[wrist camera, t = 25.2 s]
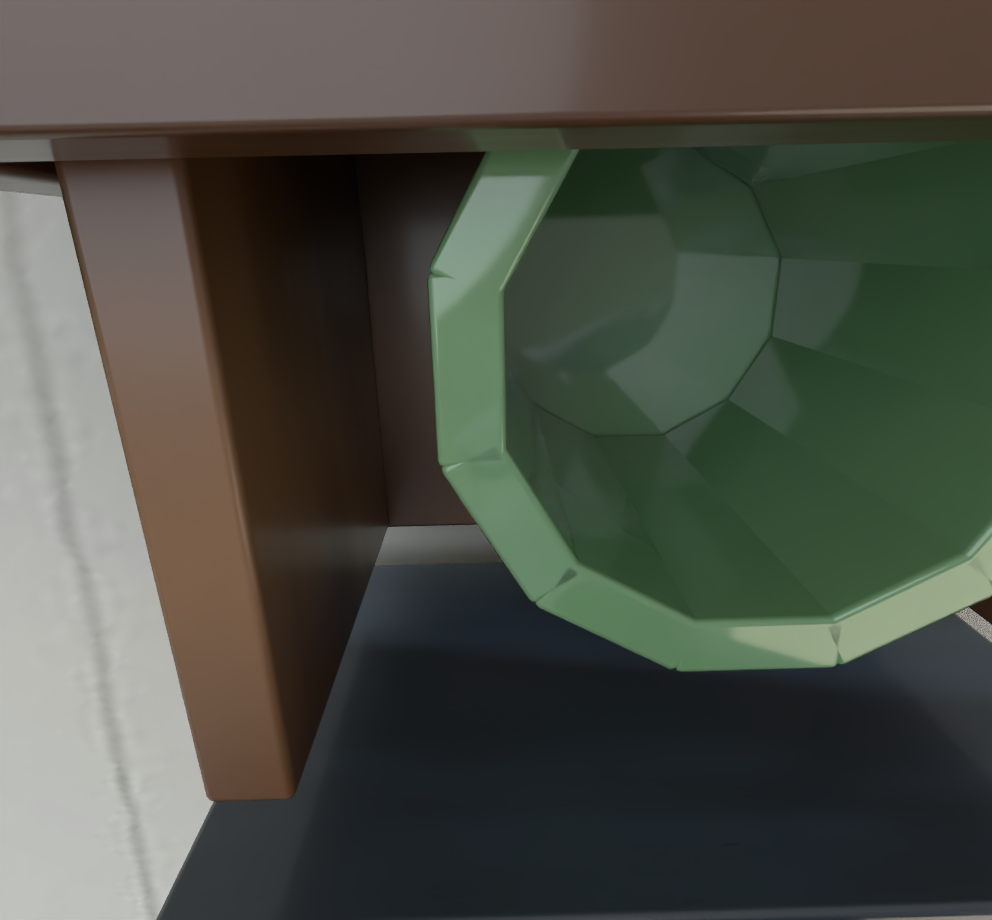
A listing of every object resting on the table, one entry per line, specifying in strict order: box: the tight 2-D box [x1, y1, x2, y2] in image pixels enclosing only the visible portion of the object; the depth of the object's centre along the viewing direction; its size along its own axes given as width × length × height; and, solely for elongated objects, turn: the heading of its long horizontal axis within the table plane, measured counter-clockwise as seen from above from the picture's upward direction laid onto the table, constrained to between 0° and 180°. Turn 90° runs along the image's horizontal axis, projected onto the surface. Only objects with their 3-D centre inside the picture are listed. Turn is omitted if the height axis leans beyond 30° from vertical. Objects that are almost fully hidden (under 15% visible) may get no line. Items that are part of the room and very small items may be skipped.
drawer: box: [54, 151, 992, 920], centre depth 8 cm, size 18×11×7 cm, turn 1°
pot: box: [427, 140, 992, 672], centre depth 7 cm, size 5×5×6 cm
